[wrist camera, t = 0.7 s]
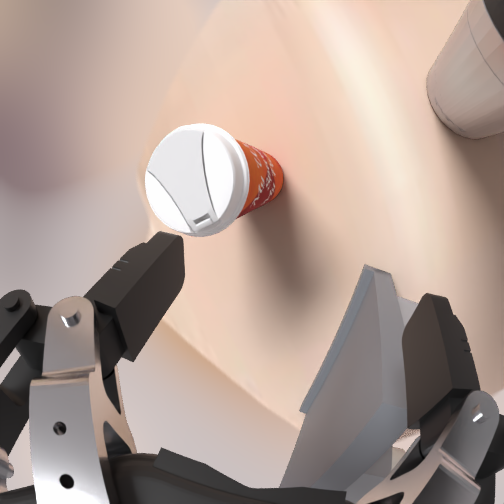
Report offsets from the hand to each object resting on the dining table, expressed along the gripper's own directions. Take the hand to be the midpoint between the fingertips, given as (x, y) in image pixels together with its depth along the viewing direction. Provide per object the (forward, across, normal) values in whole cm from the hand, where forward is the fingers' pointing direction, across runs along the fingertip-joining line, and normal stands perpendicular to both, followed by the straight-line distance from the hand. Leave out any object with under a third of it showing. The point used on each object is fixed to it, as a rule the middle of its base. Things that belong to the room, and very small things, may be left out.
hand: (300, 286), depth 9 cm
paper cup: (+22, +6, +5) cm, 23 cm away
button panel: (+15, -9, +20) cm, 27 cm away
